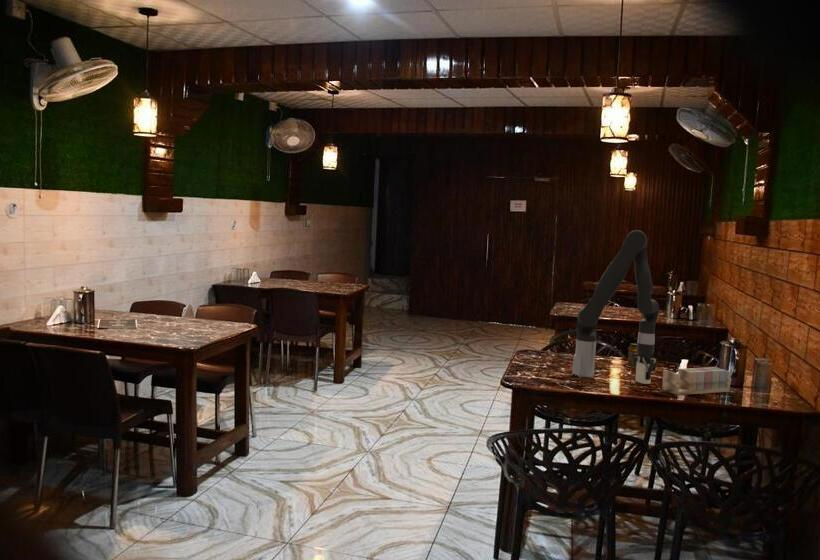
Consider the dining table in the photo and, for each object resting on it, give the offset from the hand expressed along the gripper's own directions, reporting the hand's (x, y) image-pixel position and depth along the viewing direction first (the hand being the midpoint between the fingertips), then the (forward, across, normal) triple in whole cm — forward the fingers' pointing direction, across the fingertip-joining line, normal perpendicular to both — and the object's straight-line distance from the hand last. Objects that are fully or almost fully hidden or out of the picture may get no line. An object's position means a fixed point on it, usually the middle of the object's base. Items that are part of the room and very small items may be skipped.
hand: (643, 377), depth 303 cm
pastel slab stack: (+2, +18, +14) cm, 23 cm away
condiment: (+2, -32, +20) cm, 38 cm away
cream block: (+2, 0, 0) cm, 2 cm away
